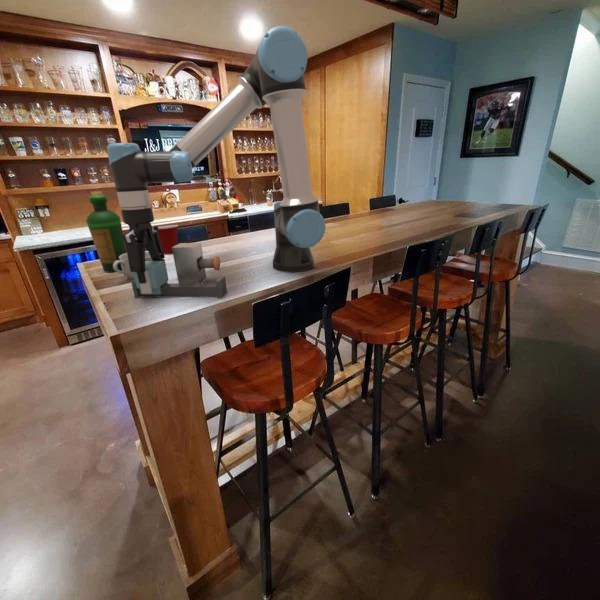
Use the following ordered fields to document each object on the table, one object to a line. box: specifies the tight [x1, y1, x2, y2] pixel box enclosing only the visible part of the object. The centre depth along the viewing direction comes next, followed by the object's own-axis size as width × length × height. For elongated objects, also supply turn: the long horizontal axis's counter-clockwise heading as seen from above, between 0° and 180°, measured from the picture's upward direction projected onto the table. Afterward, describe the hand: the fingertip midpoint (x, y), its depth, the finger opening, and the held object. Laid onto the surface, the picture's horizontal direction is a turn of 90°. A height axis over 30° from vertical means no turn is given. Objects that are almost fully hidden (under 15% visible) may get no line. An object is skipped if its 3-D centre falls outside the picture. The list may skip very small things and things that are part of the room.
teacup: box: [113, 250, 152, 280], centre depth 109 cm, size 14×11×8 cm
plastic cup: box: [158, 224, 179, 255], centre depth 141 cm, size 11×11×12 cm
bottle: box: [85, 190, 127, 273], centre depth 115 cm, size 11×11×28 cm
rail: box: [130, 275, 228, 299], centre depth 93 cm, size 26×5×5 cm, turn 85°
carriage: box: [133, 260, 170, 294], centre depth 93 cm, size 6×7×8 cm
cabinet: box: [172, 242, 207, 283], centre depth 103 cm, size 7×6×12 cm
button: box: [199, 255, 221, 271], centre depth 102 cm, size 6×4×4 cm
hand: (154, 288), depth 94 cm, fingers closed on carriage, 7 cm apart
